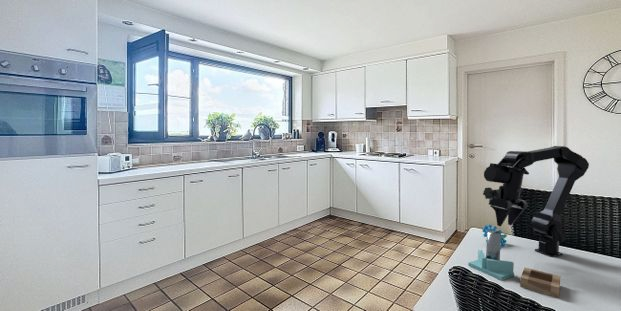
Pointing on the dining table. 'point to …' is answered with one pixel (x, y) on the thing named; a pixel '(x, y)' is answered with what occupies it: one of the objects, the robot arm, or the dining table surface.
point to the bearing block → (540, 282)
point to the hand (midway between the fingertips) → (504, 225)
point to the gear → (494, 230)
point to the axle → (493, 245)
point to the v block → (493, 266)
